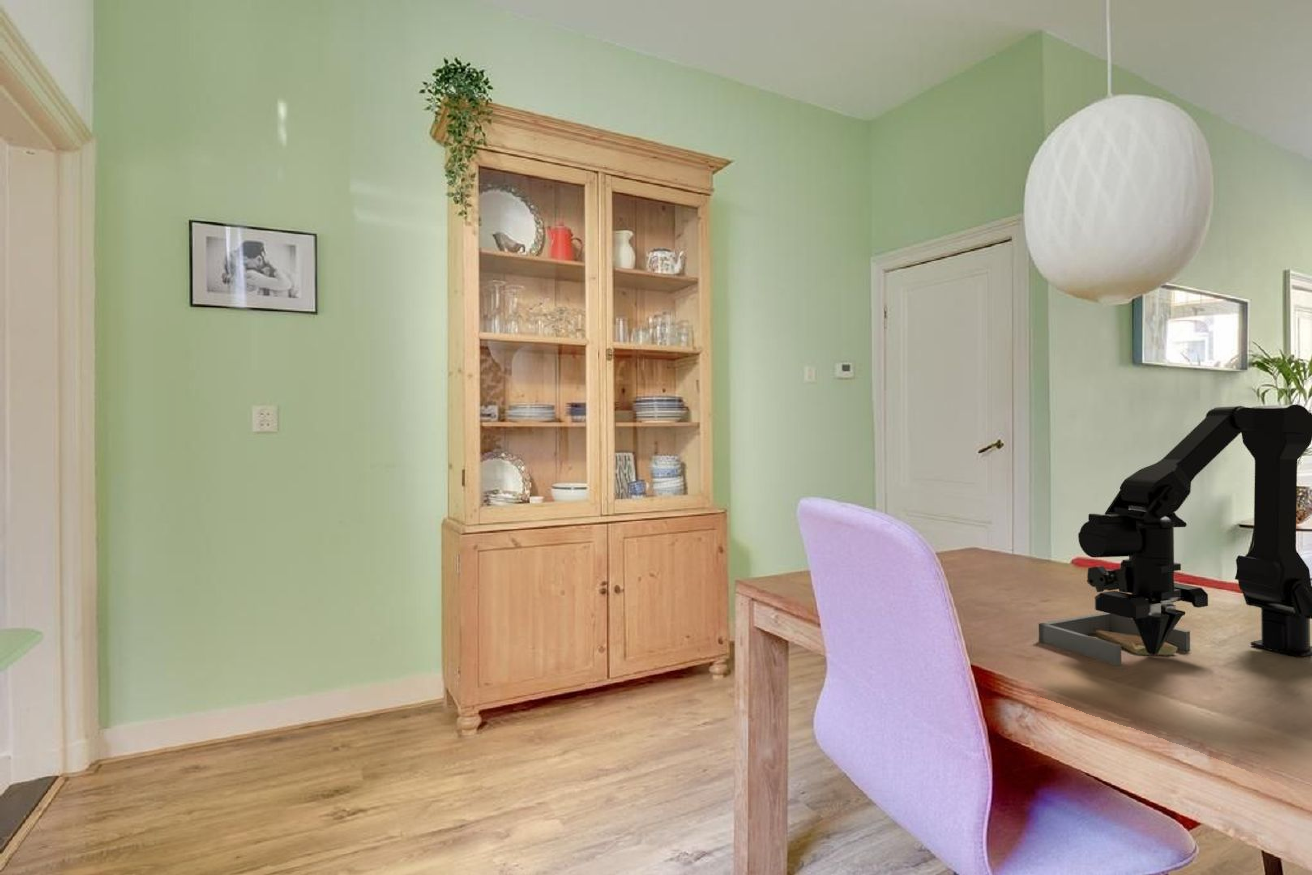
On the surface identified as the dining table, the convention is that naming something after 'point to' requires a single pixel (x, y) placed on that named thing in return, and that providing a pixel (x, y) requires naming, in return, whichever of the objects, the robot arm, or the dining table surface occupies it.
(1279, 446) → the robot arm
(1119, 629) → the box
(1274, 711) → the dining table surface
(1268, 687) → the dining table surface
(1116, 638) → the shard
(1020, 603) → the dining table surface
